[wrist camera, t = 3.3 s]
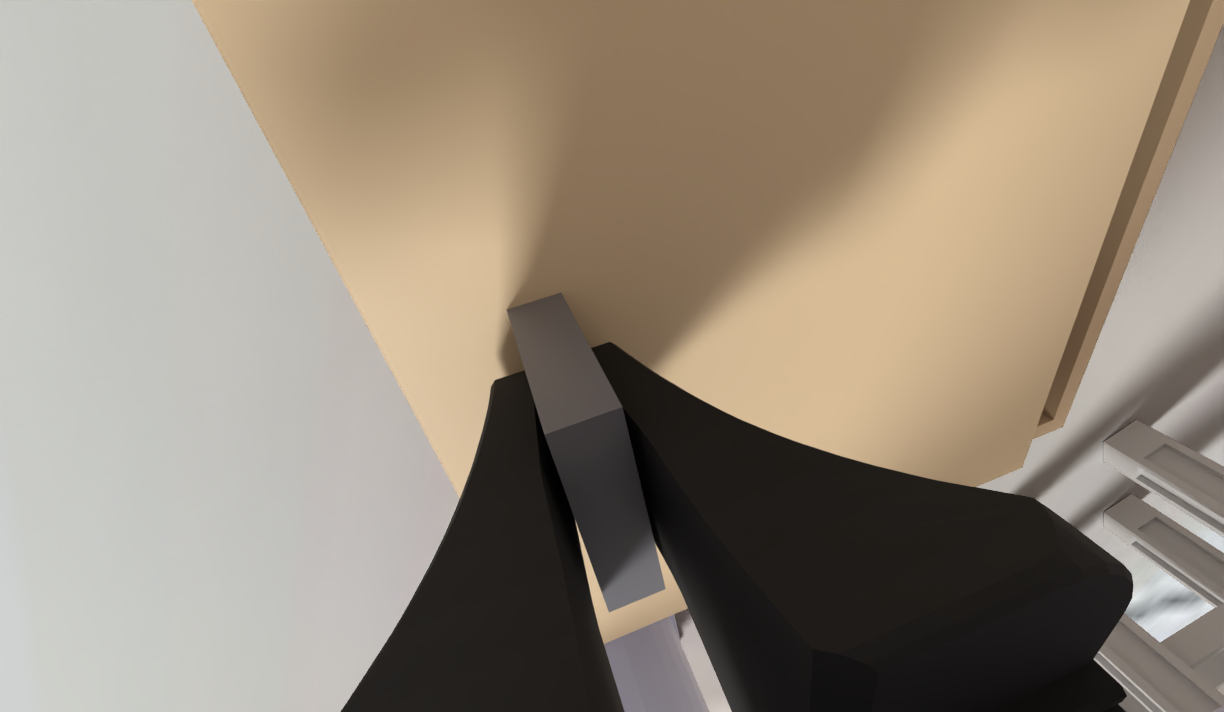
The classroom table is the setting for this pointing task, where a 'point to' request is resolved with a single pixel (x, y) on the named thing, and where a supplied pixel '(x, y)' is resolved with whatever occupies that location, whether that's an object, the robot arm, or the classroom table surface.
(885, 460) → the lid
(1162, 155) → the tan shallow tray
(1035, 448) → the classroom table surface
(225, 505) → the classroom table surface
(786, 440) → the robot arm
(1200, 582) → the stool
